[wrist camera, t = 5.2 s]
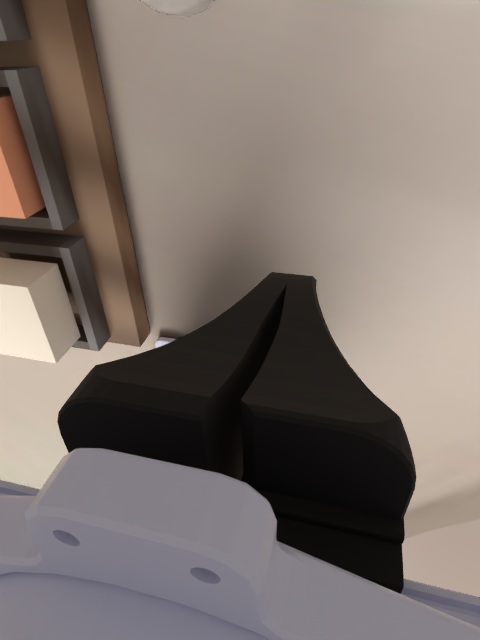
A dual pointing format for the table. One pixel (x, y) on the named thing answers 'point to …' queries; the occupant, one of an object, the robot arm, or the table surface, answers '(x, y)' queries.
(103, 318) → the button board
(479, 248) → the table surface
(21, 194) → the terracotta button
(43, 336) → the cream button
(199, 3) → the rook chess piece
